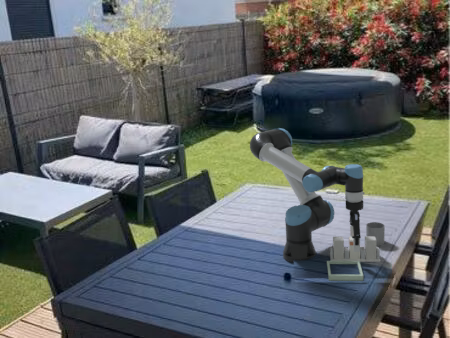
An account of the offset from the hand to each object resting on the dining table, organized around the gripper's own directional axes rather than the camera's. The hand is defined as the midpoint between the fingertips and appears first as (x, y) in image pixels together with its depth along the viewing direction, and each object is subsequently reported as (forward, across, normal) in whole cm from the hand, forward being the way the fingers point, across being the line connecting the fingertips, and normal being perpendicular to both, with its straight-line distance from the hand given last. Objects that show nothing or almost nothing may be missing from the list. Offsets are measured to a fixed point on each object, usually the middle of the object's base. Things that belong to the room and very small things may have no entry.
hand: (355, 245), depth 221 cm
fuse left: (+6, 0, +7) cm, 9 cm away
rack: (+7, 0, 0) cm, 7 cm away
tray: (+7, -13, +6) cm, 16 cm away
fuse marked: (+6, 0, 0) cm, 6 cm away
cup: (+8, +17, -11) cm, 22 cm away
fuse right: (+6, 0, -7) cm, 9 cm away
